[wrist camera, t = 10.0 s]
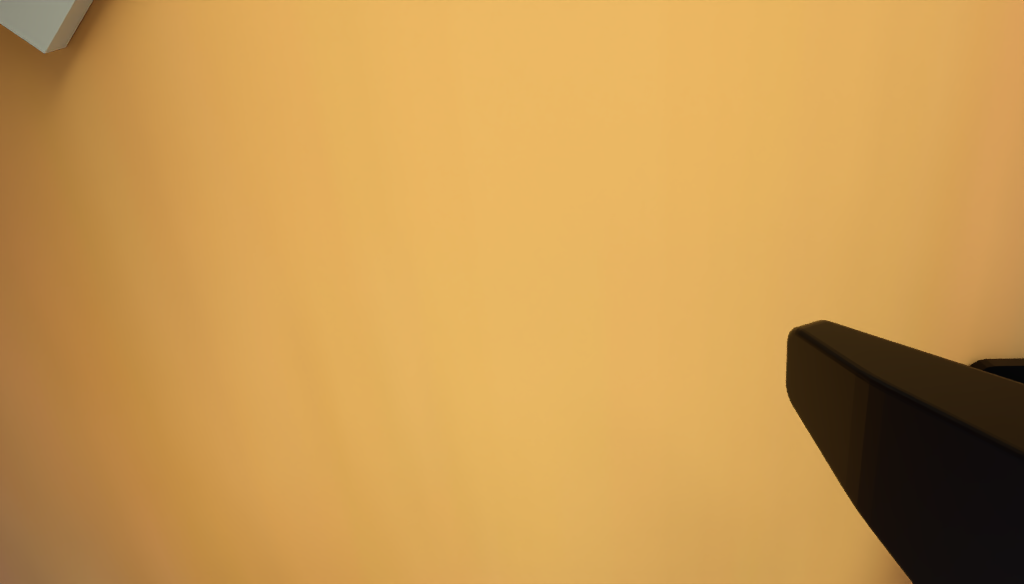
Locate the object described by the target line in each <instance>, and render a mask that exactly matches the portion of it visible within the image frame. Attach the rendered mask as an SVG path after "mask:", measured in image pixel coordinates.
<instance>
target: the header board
mask: <svg viewBox="0 0 1024 584" xmlns="http://www.w3.org/2000/svg"><path fill="white" fill-rule="evenodd" d="M92 1H93V0H0V24H2V25H3V26H4V27H6V28H7V29H9V30H10V31H12V32H13V33H15V34H16V35H18V36H19V37H21V38H22V39H24V40H25V41H27V42H28V43H30V44H31V45H33V46H34V47H36V48H37V49H38V50H40V51H41V52H43V53H44V54H45V53H48V52H52V51H55V50H59V49H62V48H66V46H67V44H68V43H69V41H70V39H71V38H72V36H73V34H74V32H75V31H76V29H77V27H78V26H79V24H80V22H81V20H82V19H83V17H84V15H85V14H86V12H87V10H88V8H89V7H90V5H91V3H92Z"/></svg>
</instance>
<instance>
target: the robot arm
mask: <svg viewBox="0 0 1024 584" xmlns="http://www.w3.org/2000/svg"><path fill="white" fill-rule="evenodd" d="M786 388H787V393H788V396H789V399H790V401H791V403H792V405H793V407H794V409H795V410H796V412H797V414H798V415H799V417H800V418H801V420H802V422H803V423H804V425H805V427H806V428H807V430H808V432H809V433H810V435H811V437H812V438H813V440H814V441H815V443H816V445H817V446H818V448H819V450H820V451H821V453H822V455H823V456H824V458H825V460H826V461H827V463H828V464H829V466H830V468H831V469H832V471H833V473H834V474H835V476H836V478H837V479H838V481H839V483H840V484H841V486H842V487H843V489H844V491H845V492H846V494H847V495H848V497H849V498H850V500H851V502H852V503H853V505H854V506H855V508H856V509H857V511H858V512H859V513H860V515H861V516H862V517H863V519H864V520H865V522H866V523H867V524H868V526H869V527H870V528H871V530H872V531H873V532H874V533H875V535H876V536H877V537H878V539H879V540H880V541H881V543H882V544H883V545H884V546H885V548H886V549H887V550H888V552H889V553H890V554H891V556H892V557H893V558H894V559H895V561H896V562H897V563H898V565H899V566H900V567H901V569H902V570H903V571H904V572H905V574H906V575H907V576H908V578H909V579H910V580H911V582H912V583H913V584H1024V358H1022V359H984V360H979V361H977V362H975V363H973V364H972V365H971V366H967V365H964V364H961V363H957V362H954V361H951V360H948V359H945V358H942V357H939V356H936V355H933V354H930V353H926V352H923V351H920V350H917V349H914V348H911V347H908V346H905V345H902V344H899V343H895V342H892V341H889V340H886V339H883V338H880V337H877V336H874V335H871V334H867V333H864V332H861V331H858V330H855V329H852V328H849V327H846V326H843V325H840V324H836V323H833V322H830V321H826V320H820V321H816V322H812V323H809V324H805V325H802V326H798V327H795V328H794V329H792V330H791V331H790V333H789V335H788V339H787V363H786Z"/></svg>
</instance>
